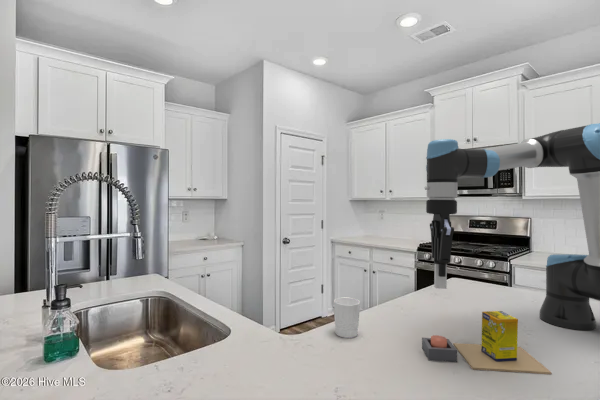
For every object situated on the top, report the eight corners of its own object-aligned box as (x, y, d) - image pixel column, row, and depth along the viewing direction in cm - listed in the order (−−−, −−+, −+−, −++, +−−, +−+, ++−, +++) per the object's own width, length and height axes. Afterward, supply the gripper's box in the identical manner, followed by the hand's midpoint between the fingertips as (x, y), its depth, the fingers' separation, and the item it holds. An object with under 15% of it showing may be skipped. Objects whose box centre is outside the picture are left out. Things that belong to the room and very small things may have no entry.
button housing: (448, 349, 95) (448, 338, 95) (457, 362, 88) (457, 350, 88) (421, 348, 95) (422, 337, 95) (428, 360, 88) (428, 348, 88)
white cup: (359, 340, 100) (359, 306, 100) (332, 337, 102) (332, 304, 102) (359, 329, 108) (360, 298, 108) (334, 327, 110) (335, 296, 109)
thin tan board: (520, 348, 96) (520, 346, 96) (551, 374, 82) (551, 372, 82) (453, 344, 98) (453, 343, 98) (472, 369, 84) (472, 367, 84)
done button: (444, 348, 93) (444, 335, 93) (449, 355, 89) (449, 341, 89) (428, 347, 94) (429, 334, 94) (433, 354, 90) (433, 341, 90)
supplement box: (480, 351, 93) (481, 311, 92) (500, 350, 93) (501, 310, 93) (496, 362, 87) (496, 319, 87) (517, 361, 88) (518, 318, 87)
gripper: (420, 198, 98) (419, 281, 98) (433, 199, 85) (432, 294, 85) (448, 198, 97) (447, 282, 97) (465, 199, 84) (464, 295, 84)
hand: (440, 287), depth 91 cm, fingers closed
